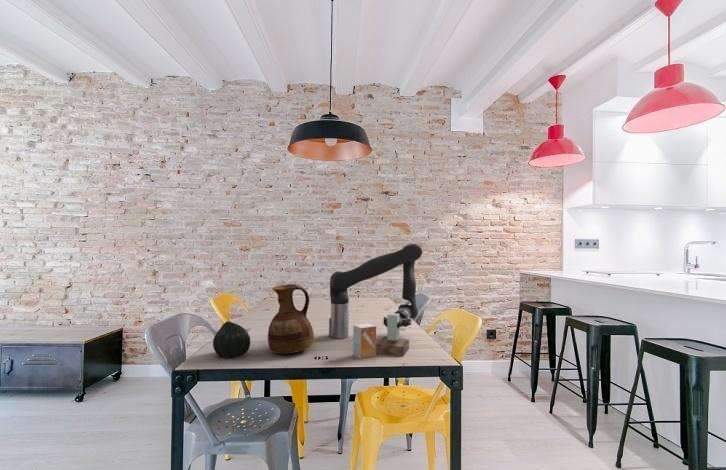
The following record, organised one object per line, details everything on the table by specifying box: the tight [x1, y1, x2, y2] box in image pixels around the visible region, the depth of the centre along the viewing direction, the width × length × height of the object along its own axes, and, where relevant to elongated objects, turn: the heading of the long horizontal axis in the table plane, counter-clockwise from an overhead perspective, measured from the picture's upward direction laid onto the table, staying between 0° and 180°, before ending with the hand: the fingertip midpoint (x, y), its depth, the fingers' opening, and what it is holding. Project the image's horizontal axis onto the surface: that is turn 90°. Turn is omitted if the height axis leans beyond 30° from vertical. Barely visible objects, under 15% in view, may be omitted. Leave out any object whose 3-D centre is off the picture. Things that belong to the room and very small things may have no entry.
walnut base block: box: [376, 336, 410, 357], centre depth 165 cm, size 12×12×4 cm
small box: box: [352, 323, 377, 360], centre depth 158 cm, size 8×6×13 cm
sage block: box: [386, 312, 400, 341], centre depth 166 cm, size 4×4×11 cm
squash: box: [212, 320, 251, 359], centre depth 158 cm, size 14×15×15 cm
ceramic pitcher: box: [267, 283, 315, 355], centre depth 164 cm, size 20×20×30 cm
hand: (392, 325), depth 164 cm, fingers closed on sage block, 4 cm apart
